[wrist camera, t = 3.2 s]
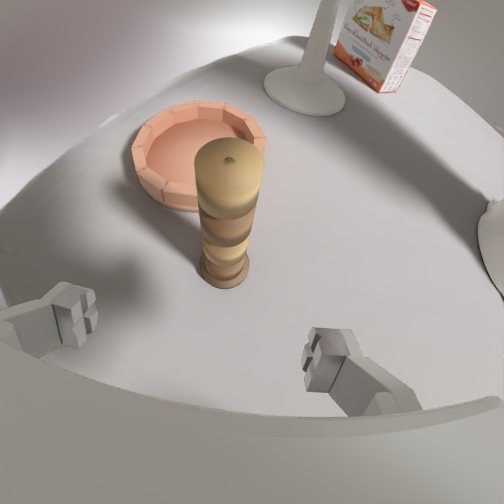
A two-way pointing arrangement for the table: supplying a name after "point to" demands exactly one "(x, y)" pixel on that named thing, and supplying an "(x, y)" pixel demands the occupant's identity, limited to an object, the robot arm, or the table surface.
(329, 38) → the candlestick
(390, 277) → the table surface
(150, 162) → the dish
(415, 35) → the cracker box
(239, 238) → the tan wooden ridged cylinder
